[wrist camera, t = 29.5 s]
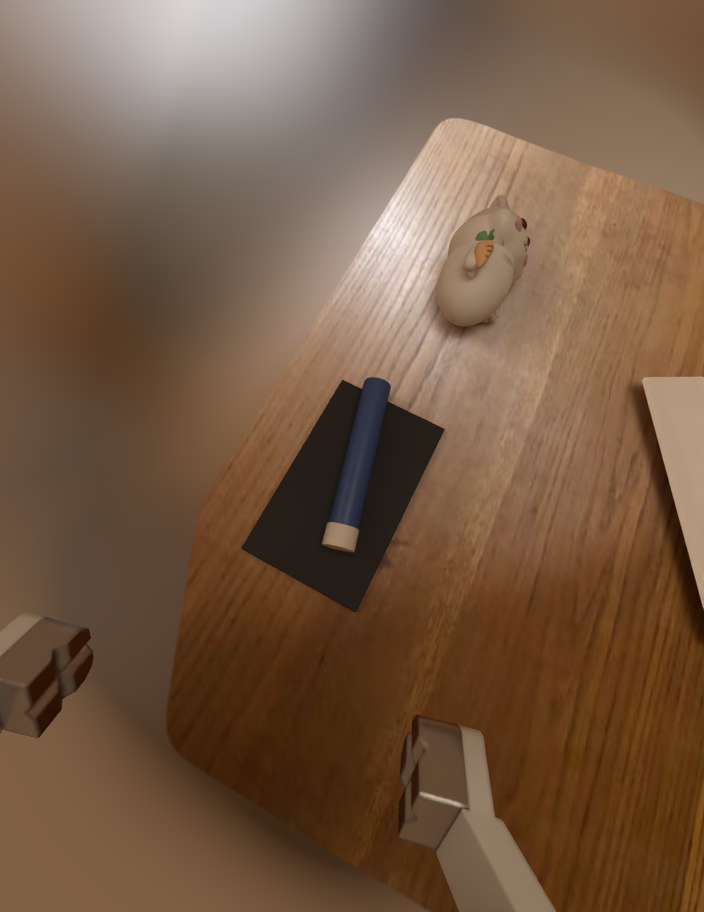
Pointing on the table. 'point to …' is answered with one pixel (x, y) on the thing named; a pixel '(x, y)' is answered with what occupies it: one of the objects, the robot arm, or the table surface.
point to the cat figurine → (482, 265)
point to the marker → (357, 467)
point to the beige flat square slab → (682, 455)
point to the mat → (313, 492)
